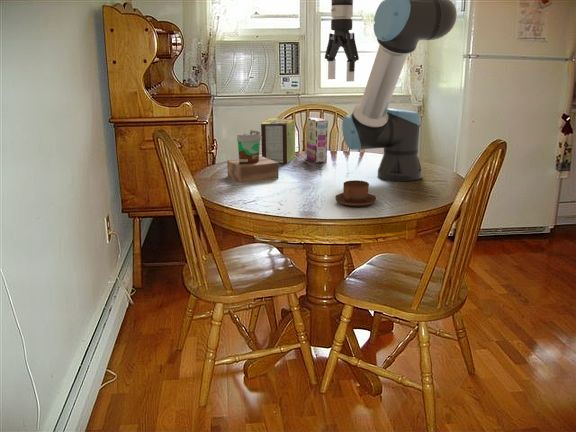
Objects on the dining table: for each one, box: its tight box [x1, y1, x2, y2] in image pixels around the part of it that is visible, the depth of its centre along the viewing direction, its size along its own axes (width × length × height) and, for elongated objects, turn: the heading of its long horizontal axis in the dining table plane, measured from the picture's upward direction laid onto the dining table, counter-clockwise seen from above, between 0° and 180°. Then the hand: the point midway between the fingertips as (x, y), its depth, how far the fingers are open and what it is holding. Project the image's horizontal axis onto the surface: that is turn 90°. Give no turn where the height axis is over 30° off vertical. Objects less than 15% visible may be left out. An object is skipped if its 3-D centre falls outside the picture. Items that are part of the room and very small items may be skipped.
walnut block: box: [226, 156, 280, 184], centre depth 200 cm, size 12×14×6 cm
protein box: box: [260, 117, 296, 165], centre depth 228 cm, size 10×15×16 cm
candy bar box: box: [306, 117, 329, 164], centre depth 226 cm, size 11×5×16 cm, turn 17°
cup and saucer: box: [334, 179, 377, 207], centre depth 168 cm, size 12×12×6 cm
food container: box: [236, 129, 262, 164], centre depth 197 cm, size 12×6×10 cm, turn 161°
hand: (340, 80), depth 209 cm, fingers open, 13 cm apart
